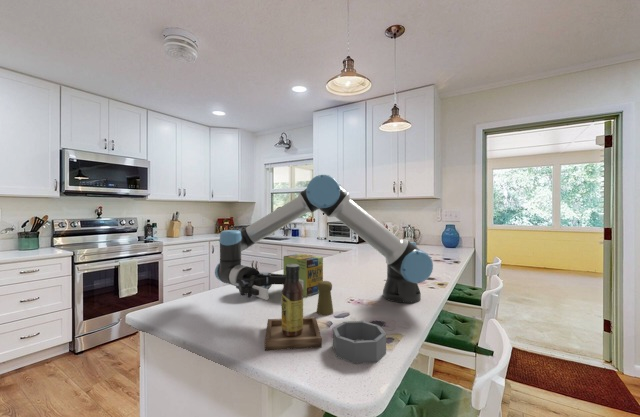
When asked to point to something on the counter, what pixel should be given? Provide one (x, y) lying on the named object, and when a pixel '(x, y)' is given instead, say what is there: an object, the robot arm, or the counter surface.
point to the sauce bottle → (292, 302)
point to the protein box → (307, 271)
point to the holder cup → (359, 342)
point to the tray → (281, 342)
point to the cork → (324, 298)
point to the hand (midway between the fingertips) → (286, 289)
